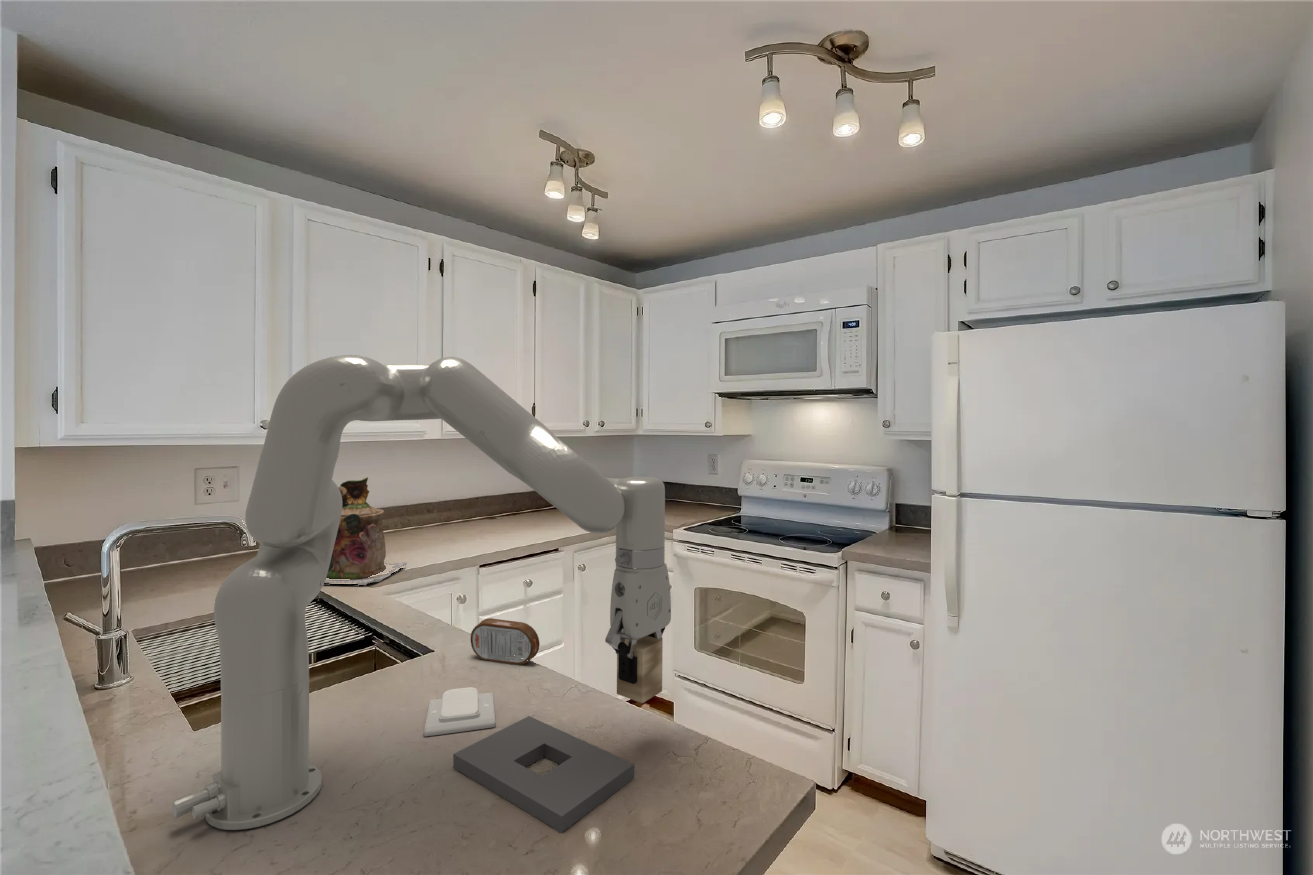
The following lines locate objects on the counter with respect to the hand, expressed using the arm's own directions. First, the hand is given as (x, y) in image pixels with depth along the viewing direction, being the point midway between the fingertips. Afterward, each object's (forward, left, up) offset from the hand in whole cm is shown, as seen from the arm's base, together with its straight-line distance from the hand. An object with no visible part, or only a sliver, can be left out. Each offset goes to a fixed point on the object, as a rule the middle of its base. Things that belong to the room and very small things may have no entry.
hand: (639, 673), depth 90 cm
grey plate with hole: (-14, +6, -11) cm, 19 cm away
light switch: (-11, +30, -12) cm, 34 cm away
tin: (+8, +42, -11) cm, 44 cm away
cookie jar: (+22, +134, -11) cm, 136 cm away
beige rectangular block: (0, 0, -3) cm, 3 cm away
